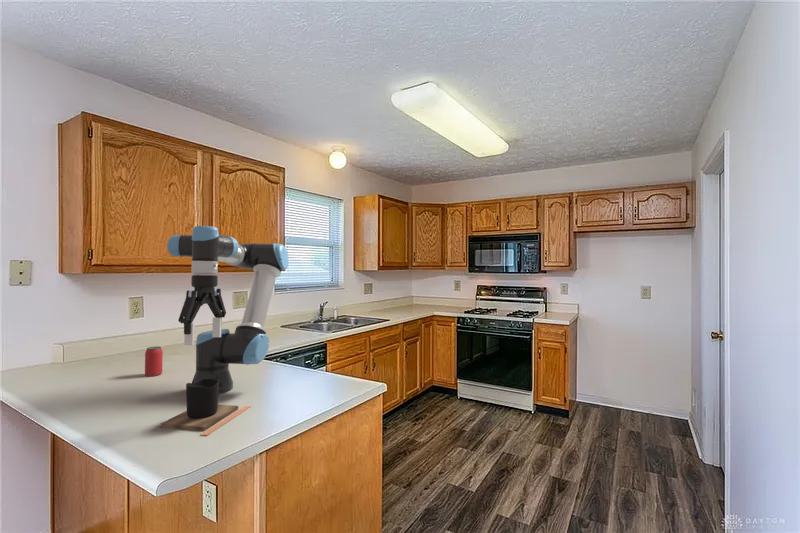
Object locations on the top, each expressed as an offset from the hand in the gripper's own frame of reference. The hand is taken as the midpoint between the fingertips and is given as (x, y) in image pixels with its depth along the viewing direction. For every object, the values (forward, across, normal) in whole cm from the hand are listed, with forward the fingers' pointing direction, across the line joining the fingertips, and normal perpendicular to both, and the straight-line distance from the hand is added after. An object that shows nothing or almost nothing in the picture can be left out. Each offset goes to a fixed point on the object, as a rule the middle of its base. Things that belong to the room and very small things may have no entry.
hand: (203, 340), depth 126 cm
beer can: (+25, +41, +53) cm, 71 cm away
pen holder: (+24, 0, 0) cm, 24 cm away
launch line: (+25, 0, -9) cm, 26 cm away
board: (+25, 0, 0) cm, 25 cm away
